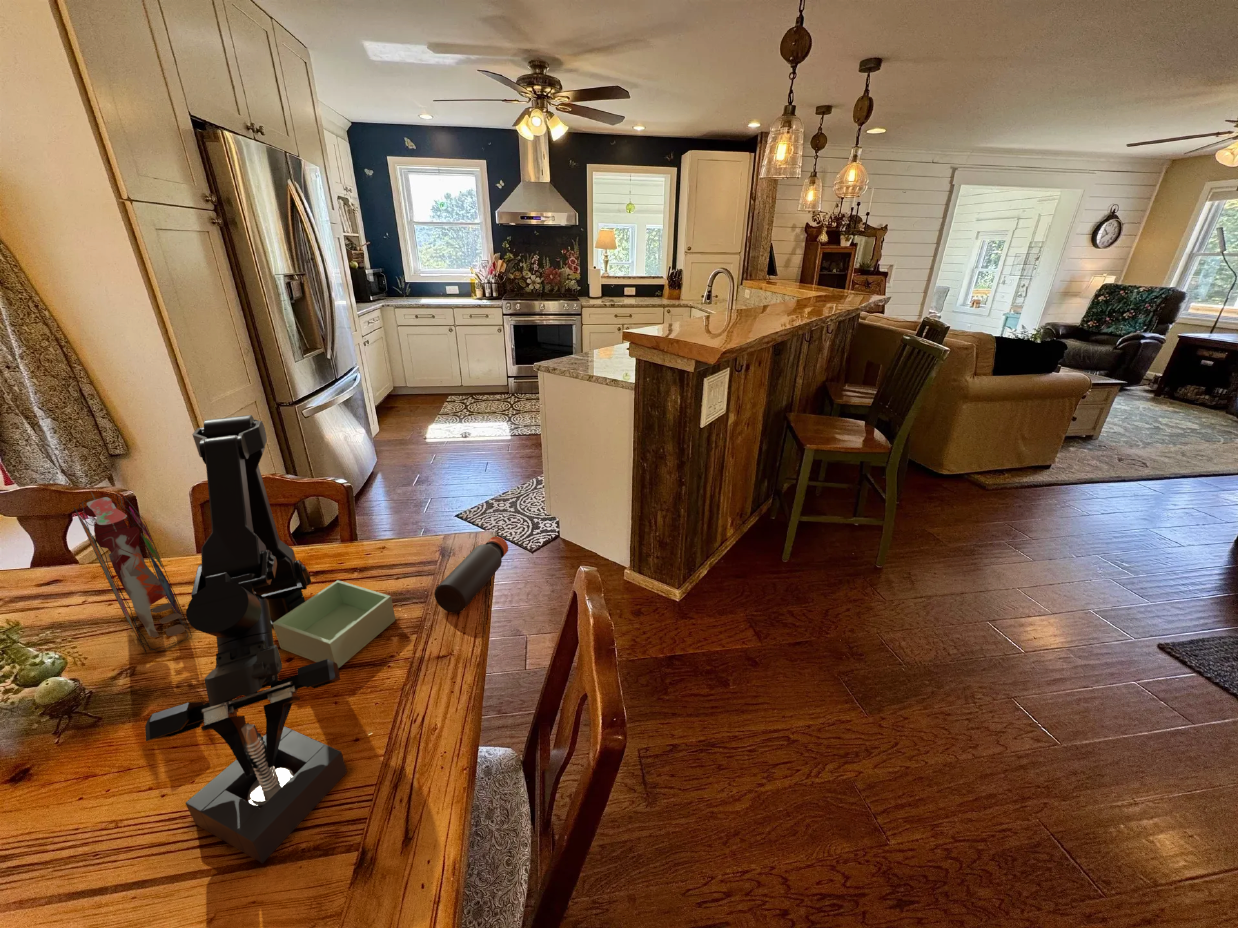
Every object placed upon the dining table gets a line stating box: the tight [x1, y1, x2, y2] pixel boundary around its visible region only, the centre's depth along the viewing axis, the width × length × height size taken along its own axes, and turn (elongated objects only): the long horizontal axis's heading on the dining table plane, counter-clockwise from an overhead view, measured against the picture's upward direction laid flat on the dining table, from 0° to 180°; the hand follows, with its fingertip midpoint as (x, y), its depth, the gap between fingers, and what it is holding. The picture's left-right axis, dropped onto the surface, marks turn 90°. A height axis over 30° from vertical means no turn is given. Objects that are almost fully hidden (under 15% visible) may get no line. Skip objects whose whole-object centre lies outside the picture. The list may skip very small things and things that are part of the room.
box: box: [73, 491, 193, 654], centre depth 88 cm, size 25×6×24 cm, turn 53°
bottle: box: [434, 535, 509, 614], centre depth 103 cm, size 7×7×20 cm
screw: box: [241, 722, 295, 808], centre depth 60 cm, size 13×5×5 cm
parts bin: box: [272, 579, 397, 669], centre depth 89 cm, size 13×13×6 cm
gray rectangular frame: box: [185, 725, 348, 865], centre depth 62 cm, size 12×12×4 cm
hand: (260, 770), depth 59 cm, fingers closed on screw, 2 cm apart
